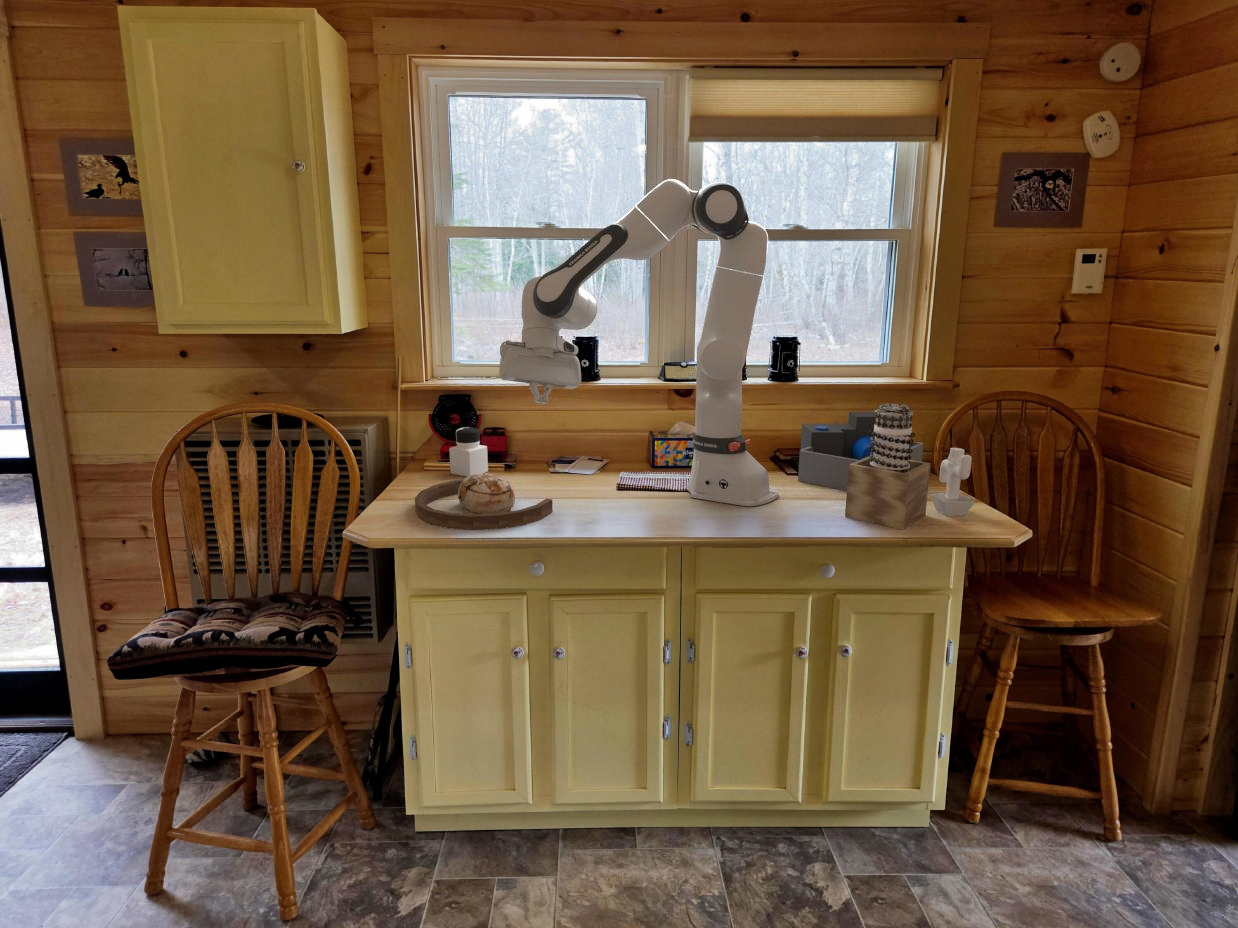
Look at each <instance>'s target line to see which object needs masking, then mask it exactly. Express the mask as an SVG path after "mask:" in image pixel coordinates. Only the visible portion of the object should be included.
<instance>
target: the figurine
mask: <svg viewBox="0 0 1238 928" xmlns="http://www.w3.org/2000/svg"><path fill="white" fill-rule="evenodd" d="M971 468H972V456H971V455H970V454H965V449H963V448H962V447H961V448H959V447H951V448H950V451H949V454H948V457H947V458H946V459H943V460H942V461H941V463H940V468H939V469H940V470H939V476H938V478H939V482H940V483H946V486H945V487H946V489H945V492H934V493H929V492H928V496H929V497H930V499H931V502H932V504H933V506H934V508H935V511H937V512H938V513H940V514H941V515H943V516H945V517H961V516H965V515H966V514H968V512H969V511H970V509H971V508H972V507H973V506H974V504H975V503H976V500H975V499H974V500H973V498H970V497H968V496H967V495H964V494H963V493H961V492H960V489H961V488H960V487H961V481H962V480H966V479H968V478H969V476H970V474H971Z"/></svg>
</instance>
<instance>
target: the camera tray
mask: <svg viewBox="0 0 1238 928" xmlns="http://www.w3.org/2000/svg"><path fill="white" fill-rule="evenodd" d="M909 448H911V449H912V450H913V452H912V453H910V454H909V453H908V455H910V456H911V457H912V459H910V460H914V461H920V462H923V452H924V451H923V450H924V442H918V441H914V443H913V444H911V445H910V444H909ZM856 461H859V460H856V459H851V458H845V457H839V456H833V455H828V454H822V453H816V452H813V447H810V446H809V447H806V448H804V449H801V448H800V449H799V458H798V477H797V482H801V483H806V484H810V485H815V486H822V487H826V488H830V489H834V490H835V489H836V490H839V491H840V490H841V491H846V492H847V483H848V470H849V464H851V463H854V462H856Z"/></svg>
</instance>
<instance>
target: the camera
mask: <svg viewBox="0 0 1238 928" xmlns="http://www.w3.org/2000/svg"><path fill="white" fill-rule="evenodd" d="M847 421H848V422H847V423H801V437H800V450H801V449H804V448H806V447H809V446H810V447H813V452H816V453H822V454H828V455H833V456H839V457H845V458H851V459H856V460H861V459H863V458H866V457H868V456H870V453H872V452H873V451H871V449H870V444H872V443H871V442H870V438H871V437H873V435H872V433H870V431H871V430H873V431H874V424H875V421H876V412H875V411H863V410H862V411H848V420H847ZM874 441H875V439H874ZM873 448H874V447H873Z"/></svg>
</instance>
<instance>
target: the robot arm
mask: <svg viewBox="0 0 1238 928" xmlns="http://www.w3.org/2000/svg"><path fill="white" fill-rule="evenodd" d="M689 225H690V226H692V227H694V228H695V229H697V230H699V231H700V232H703V233H705V234H709V235H715V236H716V237H717V239H718V242H719V254H718V258H717V263H716V267H715V271H714V274H713V280H712V283H711V289H710V294H709V296H708V297H709V298H708V301H707V306H706V312H705V318H704V322H703V326H702V332H701V337H700V339H699V341H698V344H697V348H696V373H695V374H696V377H695V379H696V381H695V382H696V383H695V415H694V416H695V419H694V420H695V424H694V432H693V435H692V450H693V457H692V465H691V472H690V477H689V480H688V482H687V486H686V490H687V491H688V493H690V497H691V498H694V499H698V500H699V499H700V500H705V501H712V502H717V503H725V504H729V505H737V506H743V507H754V506H755V507H756V506H761V505H766V504H768V503H770V502H772V501H774V500H776V499H778V497H779V491H778V490H777V489H773V488H771V487H770V479H769V473H768V471H767V469H766V468H765V467H764V466H763V465H762V464H761V463H760V462H758V460H757V459H756V458H755V457H753V455H751V454H750V453H749V451H747V446H746V445H749V444H751V442H750V441H751V439H750V438H748V439H744V436H743V434H742V415H743V413H742V412H743V368H744V366H745V363H746V359H747V354H748V349H749V346H750V340H751V335H752V329H753V324H754V317H755V313H756V308H757V304H758V300H759V295H760V293H761V292H760V291H761V288H762V283H763V279H764V273H765V270H766V266H767V265H766V264H767V260H768V259H767V257H768V249H769V235H768V231H767V230H766V229H765V227H763V226H762V225H760V224H758V223H757V222H754V221H750V218H749V213H748V212H747V208H746V203H745V200H744V197H743V195H742V193H741V191H740V190H739V189H738V188H737V187H736V186H735V185H733V184H731V183H728V182H726V181H717V182H712V183H710V184H707V185H705V186H703V188H702V187H701V189H698V190H692V189H690V188H689V187H688V186H687V185H686V184H684V182H682V181H680V180H678V179H673V178H668V179H666V180H664V181H662V182H661V183H659V184H658V185H657V186H655V187H654V188H652V190H650V191H649V192H648V193H647V194H646V195H645V196H644V197H642V199H640V200H639V201H638V202H637V203H636V204H635V205H634V206H633V207H632V208H631V209H630V210H629V211H628V213H626V214H625V215H624V216H622V217H621V218H620V219H619V220H617V221H616V222H615V223H612V224H610V225H608V226H606V227H605V228H603V229H601V230H600V231H599V232H597V233H596V234H595V235H594V236H593V237H592V238H590V239H589V240H588V241H587V242H586V243H585V244H583V246H581V247H580V248H579V249H578V250H577V251H576V252H574V253H573V254H572V255H570V257H568V259H566V260H565V261H564V262H563V263H561V264H560V265H558V266H557V267H555V268H553V269H551V270H549V271H547V272H546V273H544V274H543V275H542V276H536V277H534V278H531V279H529V280H528V281H527V282H526V283H525V285H524V287H523V291H522V297H521V319H522V329H521V341H512V340H510V339H509V340H505V341H503V342H501V344H500V346H499V355H500V360H499V368H498V369H499V370H498V375H499V377H500V379H501V380H503V381H507V382H515V383H522V384H523V383H524V384H528V388H529V390H530V392H531V394H532V395H533V403H535V404H536V403H537V404H546V405H547V404H548V403H549V396H550V394H551V392H552V390H553V389H554V388H559V389H561V388H562V389H568V390H573V389H576V388H578V387H580V385H581V383H582V371H581V362H580V360H579V358H578V357H577V355H578V353H579V347H578V346H577V345H575V344H574V343H572V342H570V341H568V340H566V339H564V338H563V337H561V336H560V330H570V331H571V330H575V331H576V330H583V329H586V328H587V327H589V326H590V325H591V324H592V323H593V321H595V319H596V316H597V313H598V303H597V301H596V299H595V297H594V296H593V295H592V294H591V293H589V291H587V290H586V289H585V288H583V287H582V286H583V285H584V283H585V282H586V281H588V280H589V279H590V278H591V277H593V275H595V274H596V273H597V272H598V271H599V270H600V269H602V268H603V266H605V265H606V264H607V263H610V262H613V261H614V260H620V259H621V260H622V259H623V260H633V261H644V260H645V261H646V260H649V259H651V258H653V257H654V256H655V255H657V254H658V253H659V252H661V251H662V249H663V248H664V247H665V246H667V244H668V243H669V242H670V241H671V240H672V239H673V238H674V237H675V236H676V235H677V233H679V232H680V231H681V230H682V229H684V228H685V227H687V226H689ZM539 386H542V388H543V389H542V390H544V392H543V394H541V393H540V391H539V389H538V387H539Z"/></svg>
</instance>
